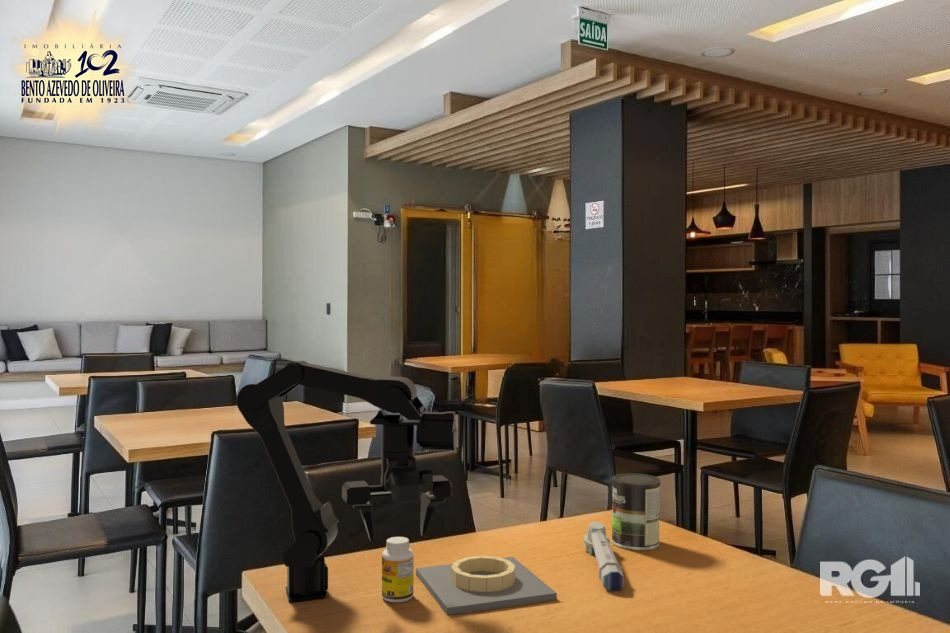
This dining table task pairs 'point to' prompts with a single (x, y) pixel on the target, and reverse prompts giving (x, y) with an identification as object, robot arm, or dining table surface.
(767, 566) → the dining table surface
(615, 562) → the grey blue-tipped handheld tool
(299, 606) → the dining table surface
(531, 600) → the grey board with ring
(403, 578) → the supplement bottle
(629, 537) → the coffee can
